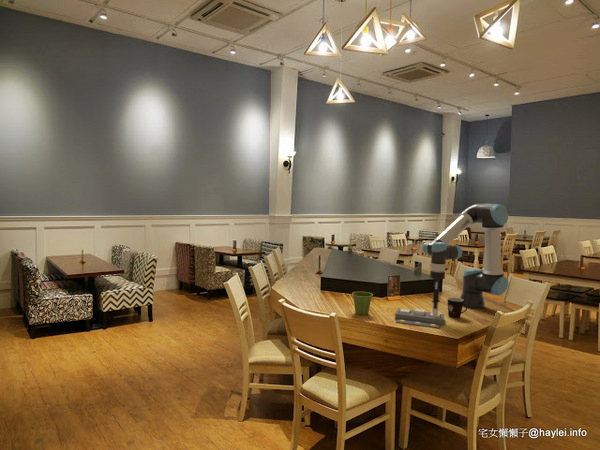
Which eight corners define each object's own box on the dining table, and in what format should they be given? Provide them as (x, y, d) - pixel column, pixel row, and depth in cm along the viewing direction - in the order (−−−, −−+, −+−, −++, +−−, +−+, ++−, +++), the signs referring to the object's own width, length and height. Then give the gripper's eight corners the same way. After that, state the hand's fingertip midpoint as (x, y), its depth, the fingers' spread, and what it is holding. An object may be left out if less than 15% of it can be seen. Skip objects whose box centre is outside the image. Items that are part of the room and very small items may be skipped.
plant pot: (355, 309, 253) (356, 290, 252) (375, 312, 247) (376, 293, 246) (347, 314, 243) (348, 294, 242) (367, 317, 237) (368, 297, 236)
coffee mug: (443, 314, 249) (444, 297, 248) (458, 314, 249) (459, 297, 249) (452, 320, 237) (453, 302, 236) (467, 320, 238) (468, 302, 237)
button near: (439, 318, 236) (440, 313, 236) (439, 320, 231) (439, 316, 231) (430, 316, 238) (430, 312, 238) (429, 319, 233) (430, 314, 233)
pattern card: (439, 325, 228) (439, 324, 228) (439, 328, 222) (439, 327, 222) (397, 319, 235) (397, 318, 235) (396, 322, 230) (396, 321, 230)
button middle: (424, 313, 239) (425, 309, 239) (424, 316, 234) (424, 312, 234) (415, 312, 241) (415, 308, 240) (414, 315, 236) (414, 310, 236)
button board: (443, 319, 239) (444, 314, 239) (442, 325, 228) (443, 319, 227) (398, 313, 247) (398, 308, 247) (394, 318, 236) (395, 313, 236)
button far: (409, 314, 242) (410, 309, 241) (408, 316, 237) (409, 312, 237) (400, 312, 243) (401, 308, 243) (399, 315, 239) (399, 310, 239)
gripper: (431, 268, 240) (428, 310, 242) (429, 272, 228) (426, 316, 230) (445, 269, 237) (442, 311, 239) (444, 273, 225) (441, 318, 227)
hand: (435, 313), depth 234 cm, fingers closed
